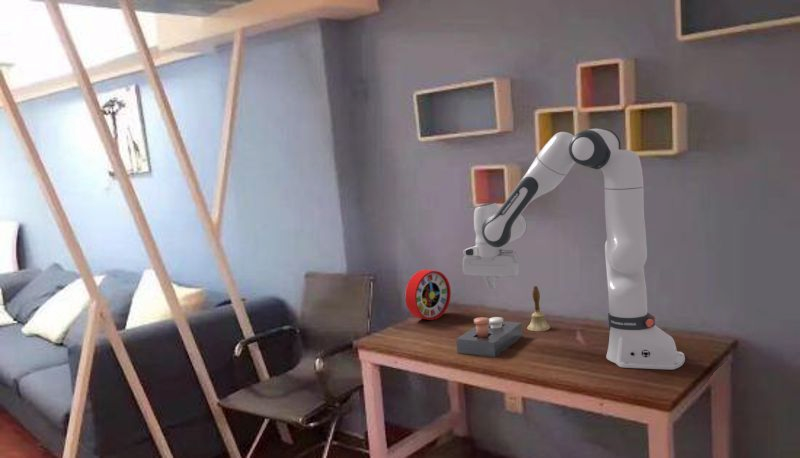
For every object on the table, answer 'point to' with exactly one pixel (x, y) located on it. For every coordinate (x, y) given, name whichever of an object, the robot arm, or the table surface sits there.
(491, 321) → the white plunger
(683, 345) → the table surface
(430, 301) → the toy clock
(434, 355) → the table surface
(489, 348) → the button console
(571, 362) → the table surface
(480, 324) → the peach mushroom-shaped knob
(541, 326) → the hand bell
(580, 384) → the table surface
